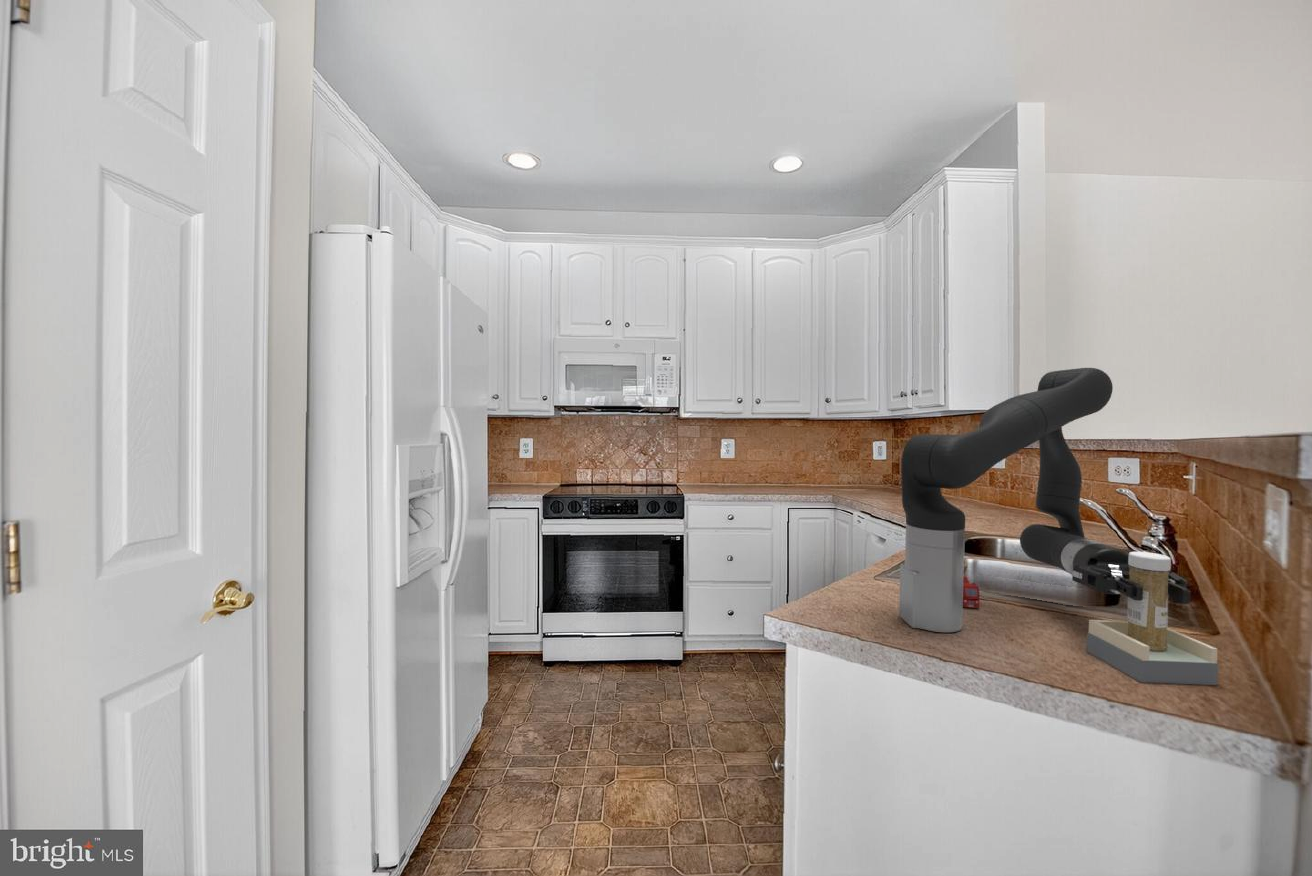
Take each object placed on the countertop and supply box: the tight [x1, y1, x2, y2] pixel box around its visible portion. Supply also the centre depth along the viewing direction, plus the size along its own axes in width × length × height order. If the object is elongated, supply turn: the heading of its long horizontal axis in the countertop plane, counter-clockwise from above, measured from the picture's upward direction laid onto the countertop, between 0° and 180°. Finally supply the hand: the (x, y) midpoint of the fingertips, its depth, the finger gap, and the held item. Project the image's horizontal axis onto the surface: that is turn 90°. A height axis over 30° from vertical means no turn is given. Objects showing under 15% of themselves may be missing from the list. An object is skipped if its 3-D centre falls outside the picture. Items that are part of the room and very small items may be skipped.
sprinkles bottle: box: [1126, 551, 1172, 651], centre depth 79 cm, size 5×5×13 cm
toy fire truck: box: [963, 558, 980, 609], centre depth 109 cm, size 3×14×10 cm, turn 168°
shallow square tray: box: [1086, 619, 1219, 686], centre depth 79 cm, size 10×10×5 cm
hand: (1162, 595), depth 76 cm, fingers open, 5 cm apart
